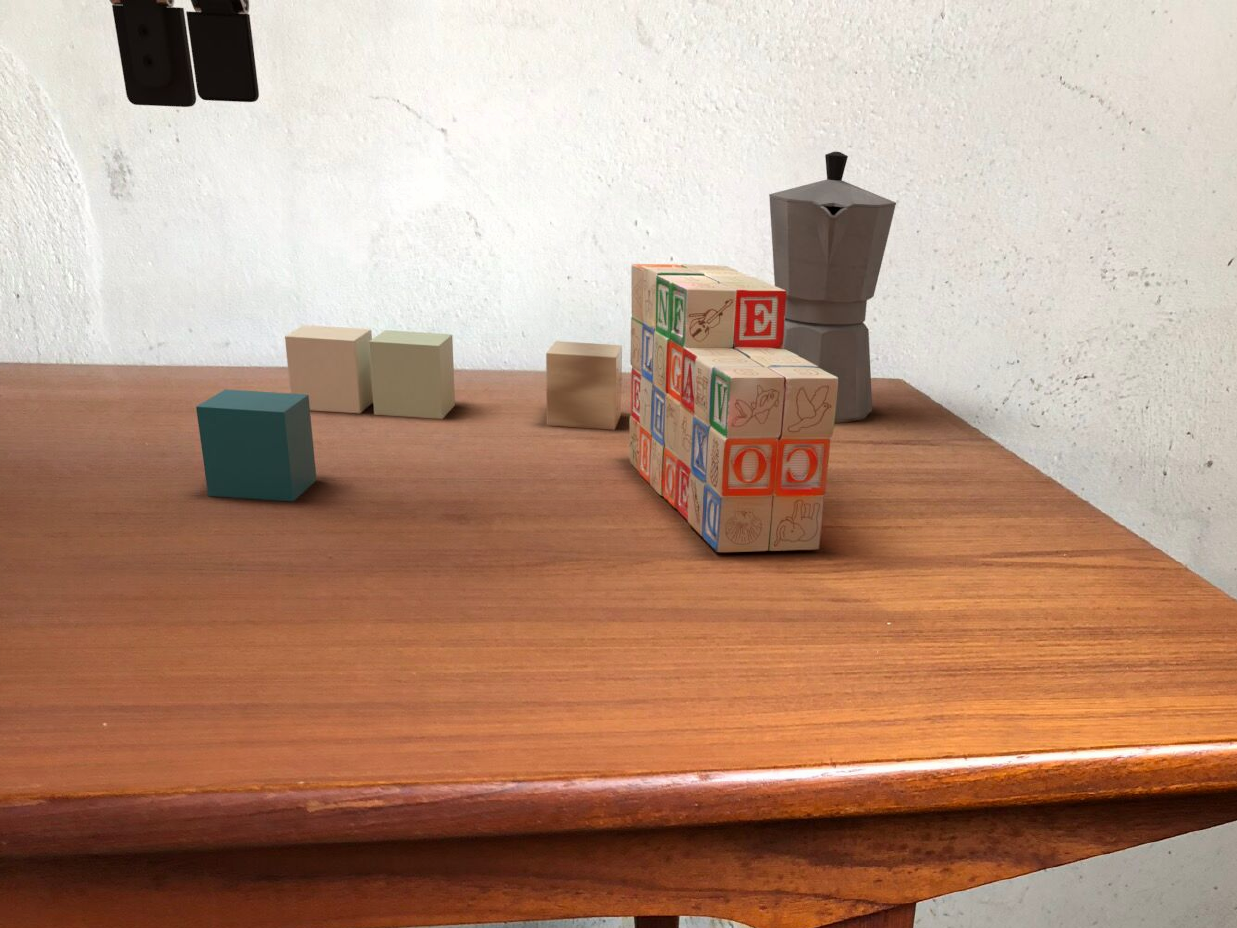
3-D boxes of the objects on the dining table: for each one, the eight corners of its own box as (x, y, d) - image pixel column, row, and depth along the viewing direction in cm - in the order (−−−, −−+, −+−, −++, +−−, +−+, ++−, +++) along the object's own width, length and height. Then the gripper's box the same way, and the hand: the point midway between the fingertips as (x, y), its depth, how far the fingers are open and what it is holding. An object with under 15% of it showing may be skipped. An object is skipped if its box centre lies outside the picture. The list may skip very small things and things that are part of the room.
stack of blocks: (823, 553, 78) (846, 314, 71) (716, 557, 76) (729, 313, 70) (715, 460, 95) (726, 261, 88) (626, 461, 93) (630, 259, 87)
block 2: (374, 415, 101) (368, 341, 99) (389, 401, 105) (384, 330, 103) (442, 419, 101) (439, 345, 99) (455, 405, 105) (452, 334, 103)
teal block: (207, 496, 81) (195, 406, 78) (235, 475, 85) (224, 389, 82) (293, 501, 81) (284, 411, 78) (316, 480, 85) (308, 394, 82)
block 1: (291, 409, 101) (284, 335, 99) (310, 396, 105) (303, 324, 103) (360, 414, 101) (354, 340, 99) (376, 400, 105) (371, 329, 103)
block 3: (546, 425, 101) (546, 352, 99) (555, 411, 105) (554, 340, 103) (615, 430, 101) (616, 356, 99) (621, 416, 105) (622, 345, 103)
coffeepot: (876, 432, 105) (906, 160, 96) (752, 424, 105) (770, 151, 96) (868, 393, 118) (894, 150, 109) (758, 386, 118) (774, 142, 109)
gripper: (127, -303, 70) (185, 97, 79) (-43, -400, 55) (52, 104, 64) (276, -297, 70) (316, 102, 79) (145, -393, 55) (213, 111, 64)
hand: (197, 103), depth 72 cm, fingers open, 9 cm apart
